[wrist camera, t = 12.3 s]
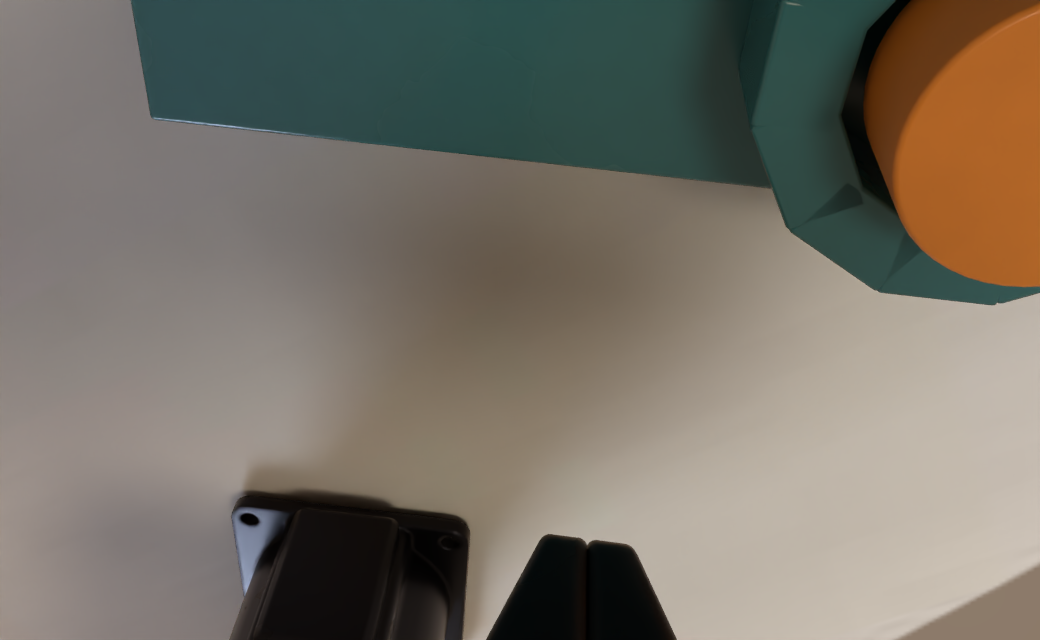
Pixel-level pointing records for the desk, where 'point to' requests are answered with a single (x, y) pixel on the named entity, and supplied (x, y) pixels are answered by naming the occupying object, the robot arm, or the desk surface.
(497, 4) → the teal button platform
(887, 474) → the desk surface
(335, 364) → the desk surface
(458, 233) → the desk surface
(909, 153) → the orange button
